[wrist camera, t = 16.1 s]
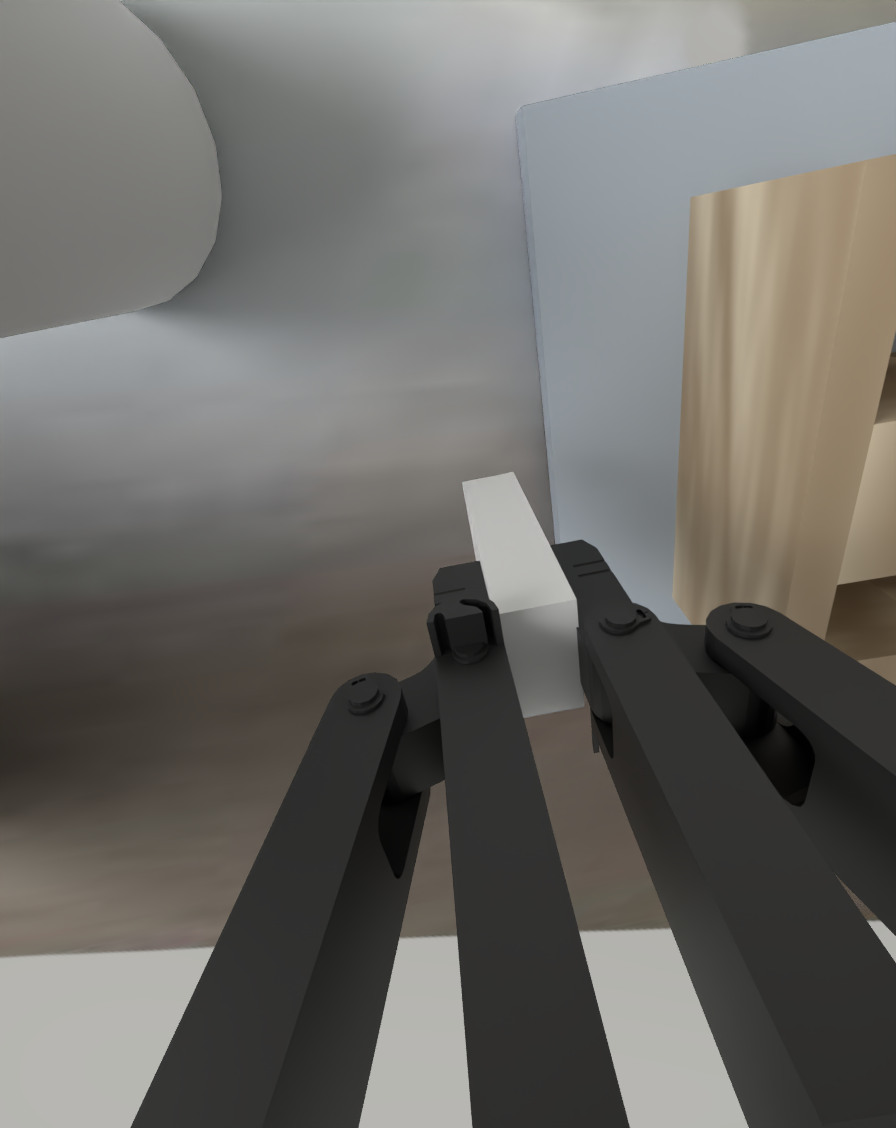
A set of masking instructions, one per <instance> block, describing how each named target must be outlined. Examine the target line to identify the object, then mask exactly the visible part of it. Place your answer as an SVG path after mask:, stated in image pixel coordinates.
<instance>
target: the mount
mask: <svg viewBox="0 0 896 1128" xmlns="http://www.w3.org/2000/svg"><path fill="white" fill-rule="evenodd" d="M516 126H517V137H518V148H519V159H520V169H521V180H522V191H523V202H524V212H525V223H526V234H527V245H528V255H529V266H530V277H531V288H532V298H533V309H534V320H535V331H536V341H537V352H538V363H539V373H540V384H541V395H542V406H543V416H544V427H545V438H546V449H547V459H548V470H549V481H550V492H551V502H552V513H553V524H554V535H555V544H560V543H565V542H571V541H576V540H581V539H582V540H584V541H586V542H587V543H589V544H591V545H593V546H595V547H596V548H597V549H598V550H599V552H600V553H601V555H602V556H603V558H604V561H605V562H606V563H607V564H608V566H609V567H610V569H611V571H612V572H613V573H614V575H615V576H616V578H617V579H618V581H619V583H620V584H621V586H622V587H623V589H624V590H625V592H626V593H627V595H628V596H629V598H630V599H631V601H632V602H633V603H637V604H639V605H641V606H644V607H646V608H648V609H649V610H651V611H652V612H653V613H654V614H655V615H656V616H657V618H658V619H659V620H660V621H661V622H665V623H671V624H686V625H692V624H691V623H690V621H689V620H688V618H687V617H686V616H685V614H684V613H683V612H682V610H681V609H680V608H679V606H678V605H677V603H676V602H675V601H674V599H673V598H672V593H673V571H674V549H675V527H676V505H677V483H678V461H679V440H680V418H681V396H682V374H683V352H684V330H685V309H686V287H687V265H688V243H689V221H690V199H691V197H694V196H699V195H703V194H708V193H713V192H718V191H722V190H727V189H732V188H736V187H741V186H746V185H751V184H755V183H760V182H765V181H769V180H774V179H779V178H784V177H788V176H793V175H798V174H802V173H807V172H812V171H817V170H821V169H826V168H831V167H835V166H840V165H845V164H849V163H854V162H859V161H864V160H868V159H873V158H878V157H883V156H888V155H893V154H896V22H892V23H887V24H883V25H879V26H874V27H870V28H865V29H861V30H856V31H852V32H848V33H843V34H839V35H834V36H830V37H825V38H821V39H817V40H812V41H808V42H803V43H799V44H794V45H790V46H786V47H781V48H777V49H772V50H768V51H763V52H759V53H755V54H750V55H746V56H741V57H737V58H732V59H728V60H724V61H719V62H715V63H710V64H706V65H701V66H697V67H693V68H688V69H684V70H679V71H675V72H670V73H666V74H662V75H657V76H653V77H648V78H644V79H639V80H635V81H631V82H626V83H622V84H617V85H613V86H608V87H604V88H600V89H595V90H591V91H586V92H582V93H577V94H573V95H569V96H564V97H560V98H555V99H551V100H546V101H542V102H538V103H533V104H529V105H524V106H522V107H521V109H520V110H519V112H518V113H517V115H516ZM893 352H896V332H895V336H894V341H893V345H892V349H891V353H893Z"/></svg>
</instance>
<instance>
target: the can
mask: <svg viewBox="0 0 896 1128" xmlns="http://www.w3.org/2000/svg"><path fill="white" fill-rule="evenodd" d="M221 202H222V191H221V182H220V174H219V166H218V158H217V150H216V144H215V141H214V139H213V136H212V134H211V131H210V128H209V126H208V123H207V120H206V118H205V115H204V113H203V110H202V107H201V105H200V102H199V100H198V97H197V94H196V92H195V89H194V88H193V86H192V85H191V83H190V82H189V81H188V79H187V78H186V76H185V75H184V73H183V72H182V70H181V69H180V67H179V66H178V64H177V63H176V61H175V60H174V58H173V57H172V55H171V54H170V52H169V51H168V49H167V48H166V46H165V45H164V43H163V42H162V40H161V39H160V38H159V37H158V36H157V35H156V34H155V33H154V32H153V31H152V30H150V29H149V28H148V27H147V26H146V25H145V24H144V23H143V22H142V21H141V20H139V19H138V18H137V17H136V16H135V15H134V14H133V13H132V12H131V11H130V10H129V9H127V8H126V7H125V6H124V5H123V4H122V3H121V2H120V1H119V0H0V338H2V337H8V336H13V335H18V334H23V333H28V332H33V331H38V330H43V329H48V328H53V327H58V326H63V325H69V324H74V323H79V322H84V321H89V320H94V319H99V318H104V317H109V316H114V315H119V314H124V313H129V312H134V311H137V310H141V309H144V308H147V307H150V306H154V305H157V304H160V303H163V302H167V301H169V300H170V299H171V298H173V297H174V296H175V295H176V294H177V293H179V292H180V291H181V290H182V289H183V288H185V287H186V286H187V285H188V284H189V283H191V282H192V281H193V280H194V279H195V278H196V277H197V276H198V274H199V272H200V270H201V268H202V266H203V264H204V263H205V261H206V259H207V257H208V255H209V253H210V251H211V249H212V247H213V246H214V244H215V241H216V234H217V228H218V222H219V215H220V209H221Z"/></svg>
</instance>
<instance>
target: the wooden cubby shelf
mask: <svg viewBox="0 0 896 1128" xmlns="http://www.w3.org/2000/svg"><path fill="white" fill-rule="evenodd" d="M895 332H896V154H893V155H888V156H883V157H878V158H873V159H868V160H864V161H859V162H854V163H849V164H845V165H840V166H835V167H831V168H826V169H821V170H817V171H812V172H807V173H802V174H798V175H793V176H788V177H784V178H779V179H774V180H769V181H765V182H760V183H755V184H751V185H746V186H741V187H736V188H732V189H727V190H722V191H718V192H713V193H708V194H703V195H699V196H694V197H691V199H690V221H689V243H688V265H687V287H686V309H685V330H684V352H683V374H682V396H681V418H680V440H679V461H678V483H677V505H676V527H675V549H674V571H673V593H672V598H673V599H674V601H675V602H676V603H677V605H678V606H679V608H680V609H681V610H682V612H683V613H684V614H685V616H686V617H687V618H688V620H689V621H690V623H691V624H692V625H706V618H707V617H708V615H709V613H710V611H712V610H713V609H715V608H717V607H719V606H720V605H725V604H729V603H734V602H737V603H754V604H758V605H763V606H767V607H769V608H771V609H773V610H775V611H777V612H780V613H781V614H783V615H784V616H786V617H788V618H789V619H791V620H792V621H794V622H796V623H797V624H799V625H800V626H802V627H804V628H805V629H807V630H808V631H810V632H812V633H813V634H815V635H816V636H818V637H819V638H821V639H823V640H824V641H826V642H827V643H829V644H831V645H832V646H834V647H835V648H837V649H839V650H840V651H842V652H843V653H845V654H847V655H848V656H850V657H851V658H853V659H854V660H856V661H858V662H859V663H861V664H862V665H864V666H866V667H867V668H869V669H870V670H872V671H874V672H875V673H877V674H878V675H880V676H882V677H883V678H885V679H886V680H888V681H889V682H891V683H893V684H894V685H896V352H893V353H891V349H892V345H893V341H894V336H895Z"/></svg>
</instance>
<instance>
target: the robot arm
mask: <svg viewBox="0 0 896 1128" xmlns="http://www.w3.org/2000/svg"><path fill="white" fill-rule="evenodd" d="M462 485H463V491H464V496H465V502H466V507H467V513H468V518H469V524H470V529H471V535H472V540H473V546H474V551H475V557H476V561H475V562H470V563H465V564H460V565H455V566H450V567H444V568H440V569H439V571H438V573H437V574H436V576H435V578H434V580H433V591H434V602H435V608H434V609H433V610H432V611H431V612H430V614H429V615H428V619H427V627H428V631H429V635H430V639H431V643H432V646H433V650H434V654H435V658H434V659H433V661H432V662H431V663H430V664H429V665H428V666H427V667H426V668H425V669H423V670H422V671H421V672H419V673H417V674H415V675H414V676H412V677H410V678H407V679H405V680H403V681H400V682H398V681H397V679H395V678H393V677H392V676H390V675H388V674H384V673H376V672H375V673H369V674H362V675H360V676H358V677H355V678H353V679H351V680H349V681H347V682H346V683H345V684H343V685H342V686H341V687H340V688H338V690H337V691H336V692H335V694H334V695H333V697H332V698H331V700H330V702H329V704H328V706H327V708H326V710H325V713H324V715H323V717H322V719H321V721H320V723H319V725H318V728H317V730H316V732H315V734H314V736H313V738H312V740H311V742H310V745H309V747H308V749H307V751H306V753H305V755H304V757H303V760H302V762H301V764H300V766H299V768H298V770H297V772H296V775H295V777H294V779H293V781H292V783H291V785H290V787H289V790H288V792H287V794H286V796H285V798H284V800H283V802H282V805H281V807H280V809H279V811H278V813H277V815H276V817H275V820H274V822H273V824H272V826H271V828H270V830H269V832H268V835H267V837H266V839H265V841H264V843H263V845H262V847H261V849H260V852H259V854H258V856H257V858H256V860H255V862H254V864H253V867H252V869H251V871H250V873H249V875H248V877H247V879H246V882H245V884H244V886H243V888H242V890H241V892H240V894H239V897H238V899H237V901H236V903H235V905H234V907H233V909H232V912H231V914H230V916H229V918H228V920H227V922H226V924H225V927H224V929H223V931H222V933H221V935H220V937H219V939H218V942H217V944H216V946H215V948H214V950H213V952H212V954H211V957H210V959H209V961H208V963H207V965H206V967H205V969H204V972H203V974H202V976H201V978H200V980H199V982H198V984H197V986H196V989H195V991H194V993H193V995H192V997H191V1000H190V1002H189V1004H188V1006H187V1008H186V1010H185V1012H184V1014H183V1017H182V1019H181V1021H180V1023H179V1025H178V1027H177V1029H176V1031H175V1034H174V1036H173V1038H172V1040H171V1042H170V1044H169V1046H168V1049H167V1051H166V1053H165V1055H164V1057H163V1059H162V1061H161V1064H160V1066H159V1068H158V1070H157V1072H156V1074H155V1076H154V1079H153V1081H152V1083H151V1085H150V1087H149V1089H148V1091H147V1093H146V1096H145V1098H144V1100H143V1102H142V1104H141V1107H140V1108H139V1111H138V1113H137V1115H136V1117H135V1119H134V1121H133V1124H132V1126H131V1128H358V1127H359V1122H360V1117H361V1112H362V1108H363V1104H364V1099H365V1094H366V1090H367V1085H368V1080H369V1076H370V1071H371V1066H372V1061H373V1057H374V1052H375V1047H376V1043H377V1038H378V1034H379V1029H380V1025H381V1020H382V1015H383V1010H384V1006H385V1001H386V996H387V992H388V987H389V983H390V978H391V974H392V969H393V964H394V960H395V955H396V950H397V946H398V941H399V936H400V932H401V927H402V922H403V918H404V913H405V909H406V904H407V899H408V895H409V890H410V885H411V881H412V876H413V871H414V867H415V862H416V858H417V853H418V848H419V844H420V839H421V834H422V830H423V825H424V820H425V816H426V811H427V806H428V802H429V797H430V787H431V786H433V785H435V784H437V783H439V782H441V781H443V780H445V786H446V798H447V811H448V824H449V836H450V849H451V862H452V874H453V887H454V900H455V912H456V925H457V937H458V950H459V961H460V975H461V987H462V1001H463V1013H464V1026H465V1038H466V1051H467V1064H468V1076H469V1089H470V1102H471V1115H472V1126H473V1128H630V1127H629V1123H628V1120H627V1115H626V1111H625V1108H624V1104H623V1100H622V1097H621V1092H620V1088H619V1084H618V1081H617V1077H616V1073H615V1069H614V1066H613V1062H612V1057H611V1054H610V1050H609V1046H608V1042H607V1039H606V1034H605V1031H604V1027H603V1023H602V1019H601V1015H600V1011H599V1007H598V1003H597V1000H596V996H595V992H594V988H593V984H592V980H591V977H590V973H589V969H588V965H587V961H586V957H585V954H584V949H583V946H582V942H581V938H580V934H579V930H578V926H577V922H576V919H575V915H574V911H573V907H572V903H571V899H570V895H569V892H568V888H567V884H566V880H565V876H564V872H563V868H562V865H561V861H560V857H559V853H558V849H557V845H556V841H555V838H554V834H553V830H552V826H551V822H550V818H549V814H548V810H547V807H546V803H545V799H544V795H543V791H542V787H541V783H540V780H539V776H538V772H537V768H536V764H535V760H534V756H533V753H532V749H531V745H530V741H529V737H528V733H527V729H526V726H525V722H524V718H526V717H532V716H537V715H543V714H548V713H554V712H559V711H564V710H570V709H575V708H581V707H585V706H584V692H585V695H586V697H587V700H588V702H589V705H590V712H591V727H592V742H593V751H594V753H597V752H599V746H600V748H601V751H602V754H603V756H604V759H605V761H606V764H607V766H608V769H609V771H610V774H611V777H612V779H613V782H614V784H615V787H616V789H617V792H618V794H619V797H620V800H621V802H622V805H623V807H624V810H625V812H626V815H627V817H628V820H629V823H630V825H631V828H632V830H633V833H634V835H635V838H636V840H637V843H638V846H639V848H640V851H641V853H642V856H643V858H644V861H645V863H646V866H647V869H648V871H649V874H650V876H651V879H652V881H653V884H654V886H655V889H656V891H657V894H658V897H659V899H660V902H661V904H662V907H663V909H664V912H665V914H666V917H667V920H668V922H669V925H670V927H671V930H672V932H673V935H674V937H675V940H676V942H677V945H678V947H679V950H680V953H681V955H682V958H683V960H684V963H685V965H686V968H687V970H688V973H689V976H690V978H691V981H692V983H693V986H694V988H695V991H696V994H697V996H698V999H699V1001H700V1004H701V1006H702V1009H703V1011H704V1014H705V1017H706V1019H707V1022H708V1024H709V1027H710V1029H711V1032H712V1034H713V1037H714V1040H715V1042H716V1045H717V1047H718V1050H719V1052H720V1055H721V1057H722V1060H723V1062H724V1065H725V1068H726V1070H727V1073H728V1075H729V1078H730V1080H731V1083H732V1086H733V1088H734V1091H735V1093H736V1096H737V1098H738V1101H739V1103H740V1106H741V1109H742V1111H743V1113H744V1116H745V1119H746V1121H747V1124H748V1126H749V1128H896V963H895V961H894V960H893V958H892V957H891V955H890V954H889V953H888V951H887V950H886V948H885V947H884V946H883V944H882V942H881V941H880V939H879V938H878V937H877V935H876V934H875V932H874V931H873V929H872V928H871V926H870V925H869V923H868V922H867V921H866V919H865V918H864V916H863V915H862V913H861V912H860V910H859V909H858V908H857V906H856V905H855V903H854V902H853V900H852V899H851V897H850V896H849V894H848V893H847V892H846V890H845V889H844V887H843V886H842V884H841V883H840V881H839V880H838V879H837V877H836V876H835V874H836V875H837V876H838V877H839V878H840V879H841V881H842V882H843V883H844V884H845V885H846V886H847V887H848V888H849V889H850V890H851V891H852V892H853V893H854V894H855V895H856V896H857V897H858V898H859V899H860V900H861V901H862V902H863V903H864V904H865V905H866V906H867V907H868V908H869V909H870V910H871V911H872V912H873V913H874V914H875V915H876V916H877V917H878V918H879V919H880V920H881V921H882V922H883V923H884V924H885V925H886V927H888V929H889V930H890V931H891V932H892V933H893V934H894V935H895V936H896V685H894V684H893V683H891V682H889V681H888V680H886V679H885V678H883V677H882V676H880V675H878V674H877V673H875V672H874V671H872V670H870V669H869V668H867V667H866V666H864V665H862V664H861V663H859V662H858V661H856V660H854V659H853V658H851V657H850V656H848V655H847V654H845V653H843V652H842V651H840V650H839V649H837V648H835V647H834V646H832V645H831V644H829V643H827V642H826V641H824V640H823V639H821V638H819V637H818V636H816V635H815V634H813V633H812V632H810V631H808V630H807V629H805V628H804V627H802V626H800V625H799V624H797V623H796V622H794V621H792V620H791V619H789V618H788V617H786V616H784V615H783V614H781V613H780V612H777V611H775V610H773V609H771V608H769V607H767V606H763V605H758V604H754V603H737V602H734V603H729V604H725V605H720V606H719V607H717V608H715V609H713V610H712V611H710V613H709V615H708V617H707V618H706V625H686V624H671V623H665V622H661V621H660V620H659V619H658V618H657V616H656V615H655V614H654V613H653V612H652V611H651V610H649V609H648V608H646V607H644V606H641V605H639V604H637V603H633V602H632V601H631V599H630V598H629V596H628V595H627V593H626V592H625V590H624V589H623V587H622V586H621V584H620V583H619V581H618V579H617V578H616V576H615V575H614V573H613V572H612V571H611V569H610V567H609V566H608V564H607V563H606V562H605V561H604V558H603V556H602V555H601V553H600V552H599V550H598V549H597V548H596V547H595V546H593V545H591V544H589V543H587V542H586V541H584V540H582V539H581V540H576V541H571V542H565V543H560V544H555V545H549V543H548V541H547V539H546V537H545V535H544V533H543V531H542V529H541V527H540V525H539V523H538V521H537V519H536V517H535V515H534V513H533V511H532V509H531V506H530V504H529V502H528V500H527V498H526V496H525V494H524V492H523V490H522V488H521V486H520V484H519V482H518V480H517V478H516V476H515V474H514V472H510V473H505V474H500V475H495V476H490V477H485V478H480V479H475V480H470V481H465V482H462ZM583 690H584V692H583ZM833 872H834V873H835V874H834V873H833Z"/></svg>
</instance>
